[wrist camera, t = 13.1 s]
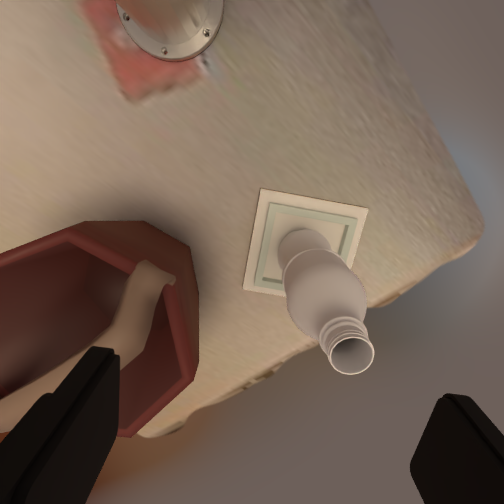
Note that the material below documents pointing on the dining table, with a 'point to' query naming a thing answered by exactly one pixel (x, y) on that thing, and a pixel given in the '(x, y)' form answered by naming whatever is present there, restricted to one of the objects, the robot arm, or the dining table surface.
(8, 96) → the dining table surface
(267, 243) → the plate
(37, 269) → the bucket
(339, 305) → the water bottle
